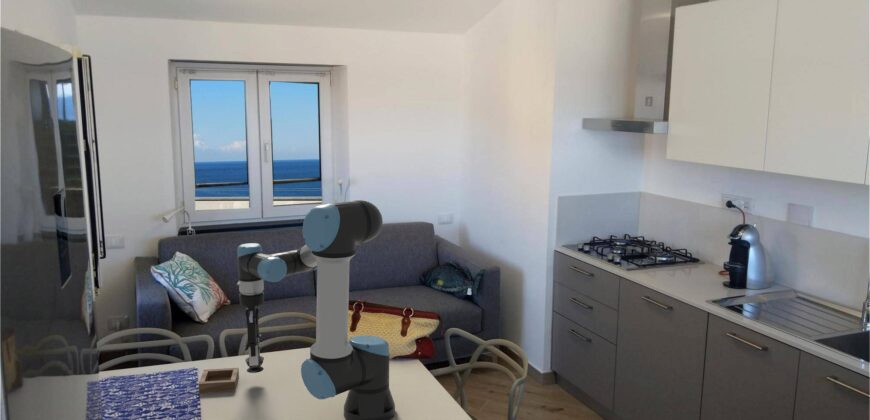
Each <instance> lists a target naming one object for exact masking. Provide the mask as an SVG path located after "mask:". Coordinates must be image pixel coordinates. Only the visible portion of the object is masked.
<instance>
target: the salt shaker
mask: <svg viewBox="0 0 870 420" xmlns="http://www.w3.org/2000/svg"><path fill="white" fill-rule="evenodd" d="M258 338H259V337H257V345H258V365H254V366H250V365H249V356H248V357H246V358H245V362H246V365H247V367H248V368H247V369H246V372H248V373H250V374H257V373H261V372H263V371H264V367H263V364H264V360H265V358H264V357H263V356H261V354H259V349H260V348H261V347H260V341H259V342H258ZM247 348H248V350H249V347H247Z"/></svg>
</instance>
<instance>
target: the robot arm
mask: <svg viewBox="0 0 870 420" xmlns="http://www.w3.org/2000/svg"><path fill="white" fill-rule="evenodd" d="M302 223H303V224H302V237H303V239H304V243H305V244H304V245H303V246H301V247H299V248H297V249H293V250H288V251H283V252H282V251H281V252H278V253H272V254H271V253H270V254H265V253H263V248H262V245H261V244H260V243H258V242H257V243H256V242H254V243H253V242H252V243H251V242H250V243H242V244H240V245H238V246H237V257H236V260H237V273H238V282H237V283H236V286H238V287H239V288H238V290H239V292H240V293H239V295H238V296H239V305H240V306H242V307H246V308H245V309H246V310H245V317H246V326H247V328H246V329H247V344H246V345H245V347H246V348H249V349H248V357H249V365H250V366H254V365H258V345H257V338H258V342H259V343H260V338H261V337H262V334H261V333H260V325H259V321H260V307H259V306H261V305H263V304H264V303H265V292H264V290H265V288H264V287H265V285H264V282H266V281H267V282H271V283H277V282H280V281H282V279H284V278H285V277H288V276H292V275H297V274H301V273H307V272H308V273H309V272H312V271H315V270H316V271H317V272H316V315H315V316H316V318H315V320H316V321H315V323H316V324H315V325H316V326H315V331H316V332H315V342H314V343H313V344H312V345H311V346H310V351H309V352H310V353H309V358H306V359H305V360H304V361H303V362H302V363H301V367H300V374H301V378H302V379H301V380H302V382H303V385H304V386H305V388H306V390H307V391H308V393H309V394H310V395H311V396H312V397H314V398H316V399H318V400H327V399H329V398H334V397H336V396H338V395H340V394H342V393H345V392H348V393H347V396H346V399H345V402H344V405H343V417H344V418H345V419H346V420H391V419H393V418H394V416H395V413H396V404H395V401H394V397H393V395H392V392H391V388H390V355H391V353H390V345H389V343H388V341H387V340H386V339H384V338H382V337H379V336H377V335H376V336H375V335H368V334H361V335H360V334H359V335H354V336H351V337H350V338H349V339H348V337H349V334H348V333H349V303H350V302H349V300H350V298H349V296H350V294H349V293H350V261H351V259H352V258H354V256H356V248H357V245H364V244H366V243H368V242H369V241H372V240H374V239H375V238H377V236H378V235H379V234H380V233H381V231H382V229H383V216H382V214H381V211H380V209H379V208H378V207H377V206H376V205H375V204H373V203H372V202H370V201H366V200H362V199H359V200H352V201H344V202H343V201H342V202H334V203H324V204H321V205H317V206H314V207H312V208H311V209H310V210H309V211H308V212H307V213H306V215H305V217H304V219H303V222H302ZM259 354H260V349H259ZM260 355H261V354H260Z"/></svg>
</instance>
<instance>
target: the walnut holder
mask: <svg viewBox="0 0 870 420" xmlns="http://www.w3.org/2000/svg"><path fill="white" fill-rule="evenodd" d="M239 369H240V368H239V367H227V368H226V367H225V368H212V369H211V368H210V369H203V370H202V371H203V372H202V374H201V377H200V380H199V382H198V395H200V394H217V393H227V392H228V393H231V392H232V393H233V392H236V390H237V386H238V382H239V378H240V371H239Z"/></svg>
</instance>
